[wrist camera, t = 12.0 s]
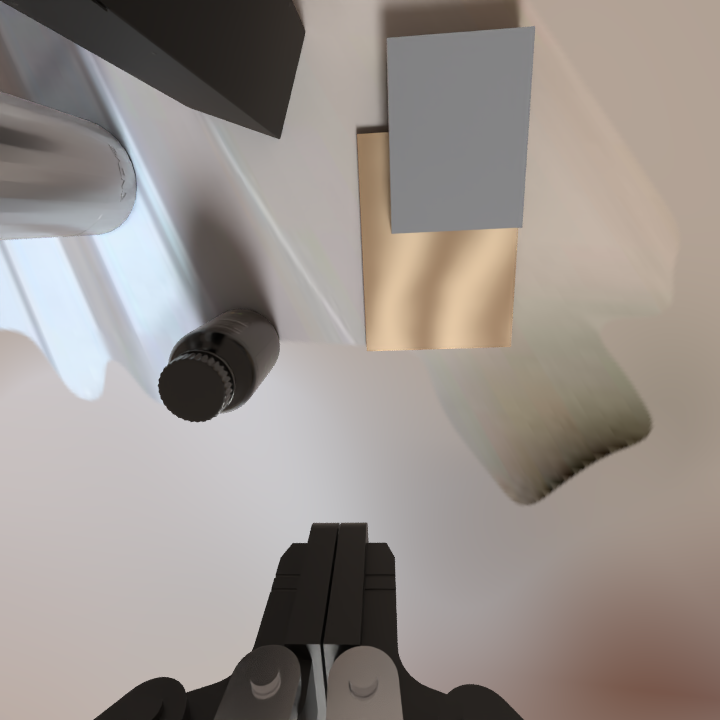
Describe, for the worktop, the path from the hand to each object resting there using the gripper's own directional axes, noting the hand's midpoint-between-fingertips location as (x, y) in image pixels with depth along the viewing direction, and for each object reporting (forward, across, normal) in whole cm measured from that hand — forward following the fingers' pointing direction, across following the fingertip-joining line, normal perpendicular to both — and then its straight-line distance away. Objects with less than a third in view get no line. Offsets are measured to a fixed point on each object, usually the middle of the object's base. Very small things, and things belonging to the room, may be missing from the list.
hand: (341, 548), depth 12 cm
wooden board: (+29, -6, -6) cm, 30 cm away
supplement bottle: (+29, +12, +2) cm, 32 cm away
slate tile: (+27, -7, -7) cm, 29 cm away
